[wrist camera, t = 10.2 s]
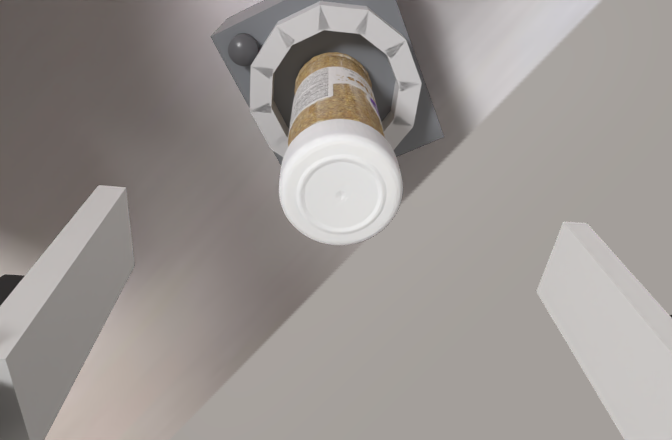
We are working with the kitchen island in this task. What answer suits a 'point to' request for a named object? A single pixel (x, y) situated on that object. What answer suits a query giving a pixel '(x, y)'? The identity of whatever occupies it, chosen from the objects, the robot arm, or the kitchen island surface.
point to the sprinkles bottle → (338, 156)
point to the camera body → (318, 38)
